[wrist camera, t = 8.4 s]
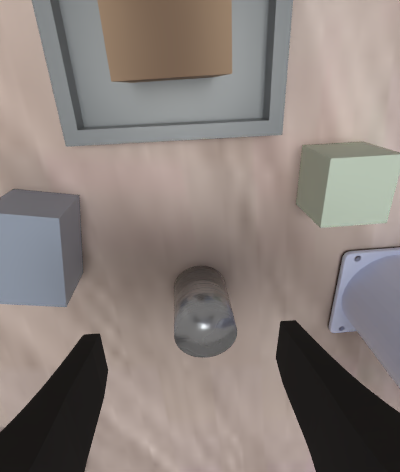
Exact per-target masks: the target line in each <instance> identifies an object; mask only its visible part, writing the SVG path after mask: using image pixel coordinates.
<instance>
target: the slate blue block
mask: <svg viewBox="0 0 400 472" xmlns="http://www.w3.org/2000/svg"><path fill="white" fill-rule="evenodd" d="M82 274H83V259H82V239H81V219H80V198H79V195H73V194H62V193H51V192H41V191H30V190H19V189H13V190H11V191H10V192H8V193H7V194H5V195H3V196H2V197H0V304H14V305H35V306H55V307H67V305H68V303H69V301H70V299H71V297H72V294H73V292H74V290H75V288H76V286H77V284H78V282H79V280H80V278H81V276H82Z"/></svg>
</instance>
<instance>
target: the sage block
mask: <svg viewBox="0 0 400 472" xmlns="http://www.w3.org/2000/svg"><path fill="white" fill-rule="evenodd" d="M399 173H400V153H399V152H396V151H392V150H389V149H386V148H382V147H379V146H376V145H372V144H369V143H366V142H349V143H332V144H315V145H302V153H301V162H300V171H299V181H298V190H297V199H296V205H297V206H298V207H299V208H301V209H302V210H303V211H304V212H305V213H306V214H307V215H308V216H309V217H310V218H311V219H312V220H313V221H314V222H315V223H316V224H317V225H318V226H319V227H320V228H324V227H338V226H352V225H365V224H379V223H387V219H388V215H389V212H390V208H391V204H392V200H393V196H394V192H395V189H396V185H397V181H398V177H399Z"/></svg>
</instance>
